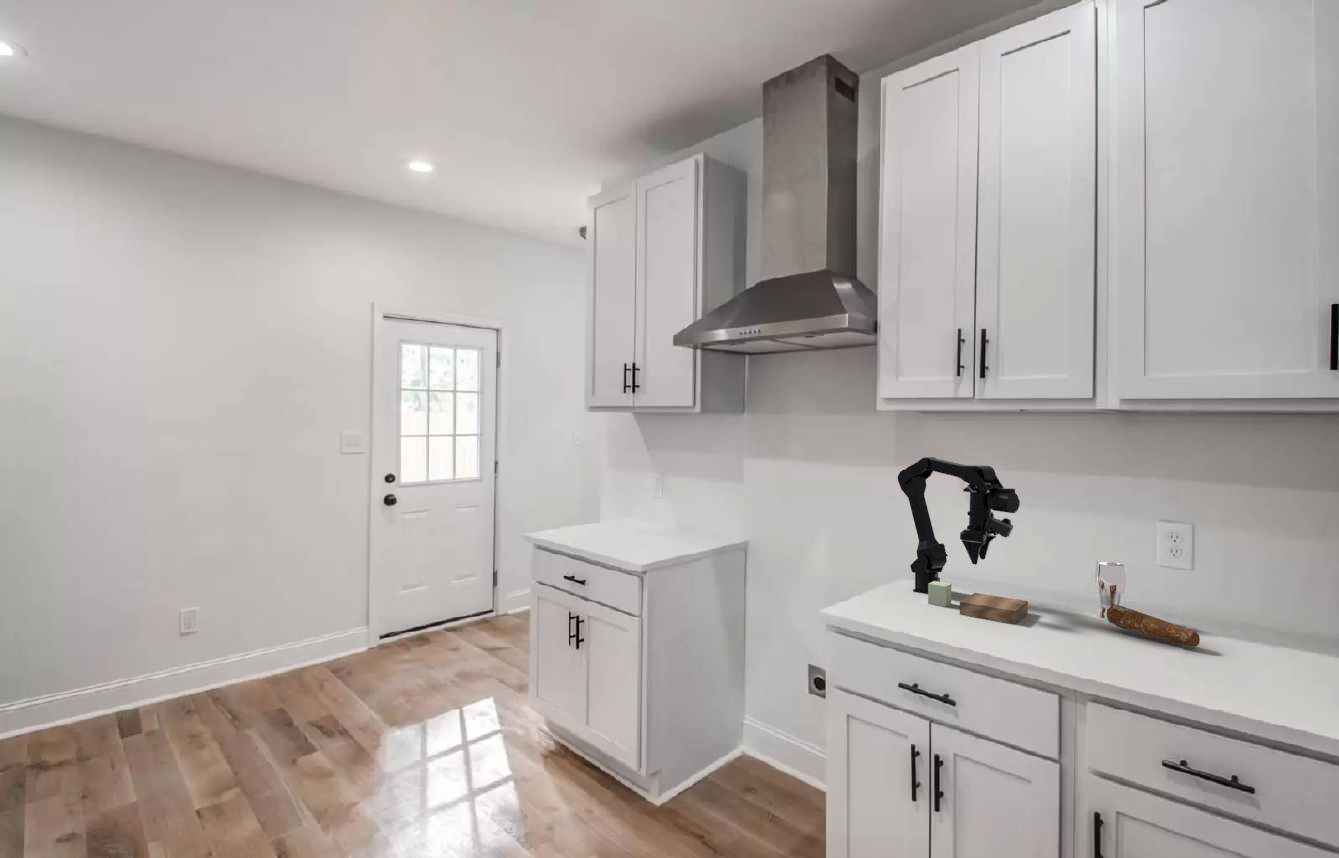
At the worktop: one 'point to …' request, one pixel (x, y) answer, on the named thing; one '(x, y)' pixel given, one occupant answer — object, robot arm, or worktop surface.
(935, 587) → the sage block
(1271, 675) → the worktop surface
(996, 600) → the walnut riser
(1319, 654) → the worktop surface
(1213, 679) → the worktop surface
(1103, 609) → the beer glass
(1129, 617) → the bread
